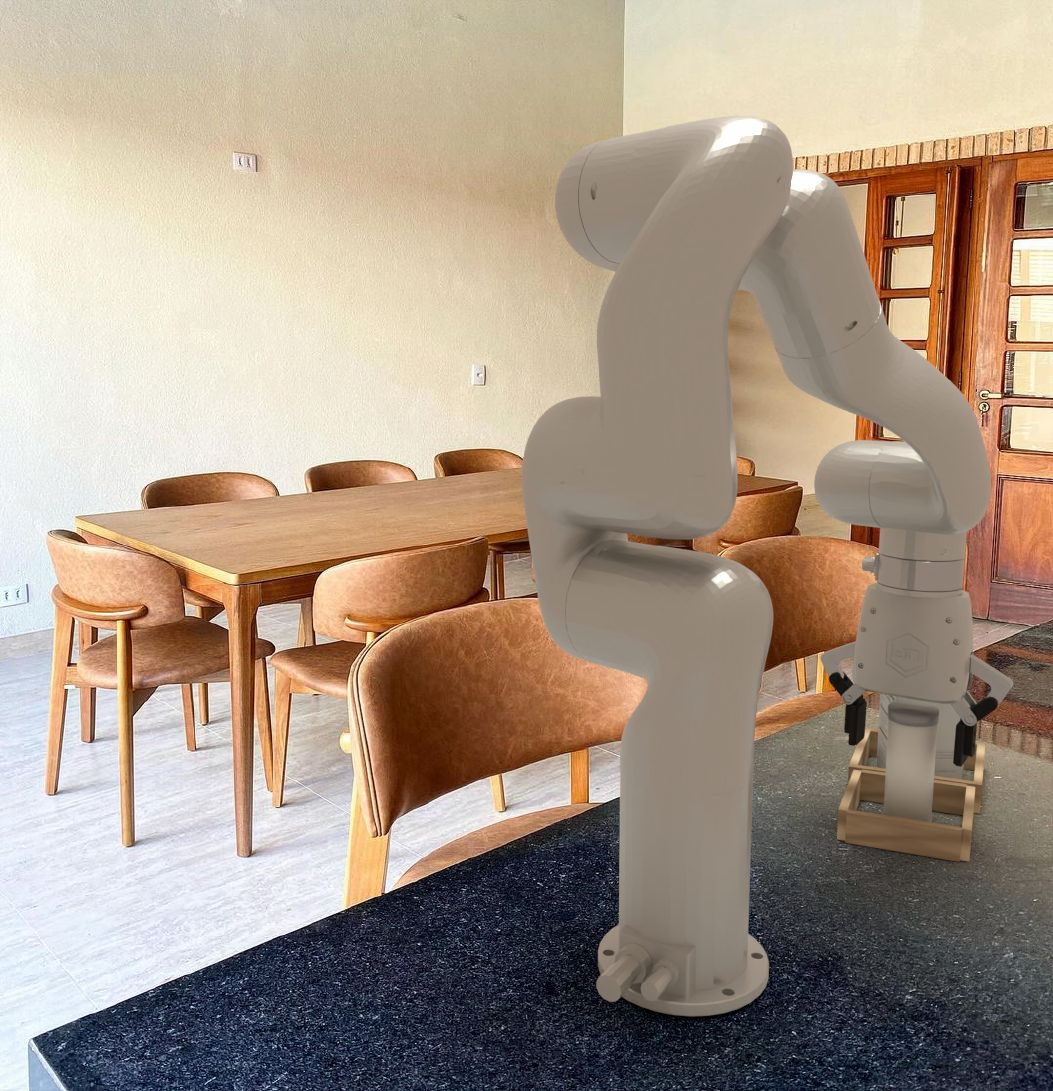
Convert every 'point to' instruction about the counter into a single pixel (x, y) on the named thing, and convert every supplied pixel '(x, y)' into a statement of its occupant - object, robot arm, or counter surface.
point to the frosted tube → (910, 760)
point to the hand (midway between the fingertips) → (907, 751)
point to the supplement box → (943, 741)
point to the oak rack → (903, 831)
